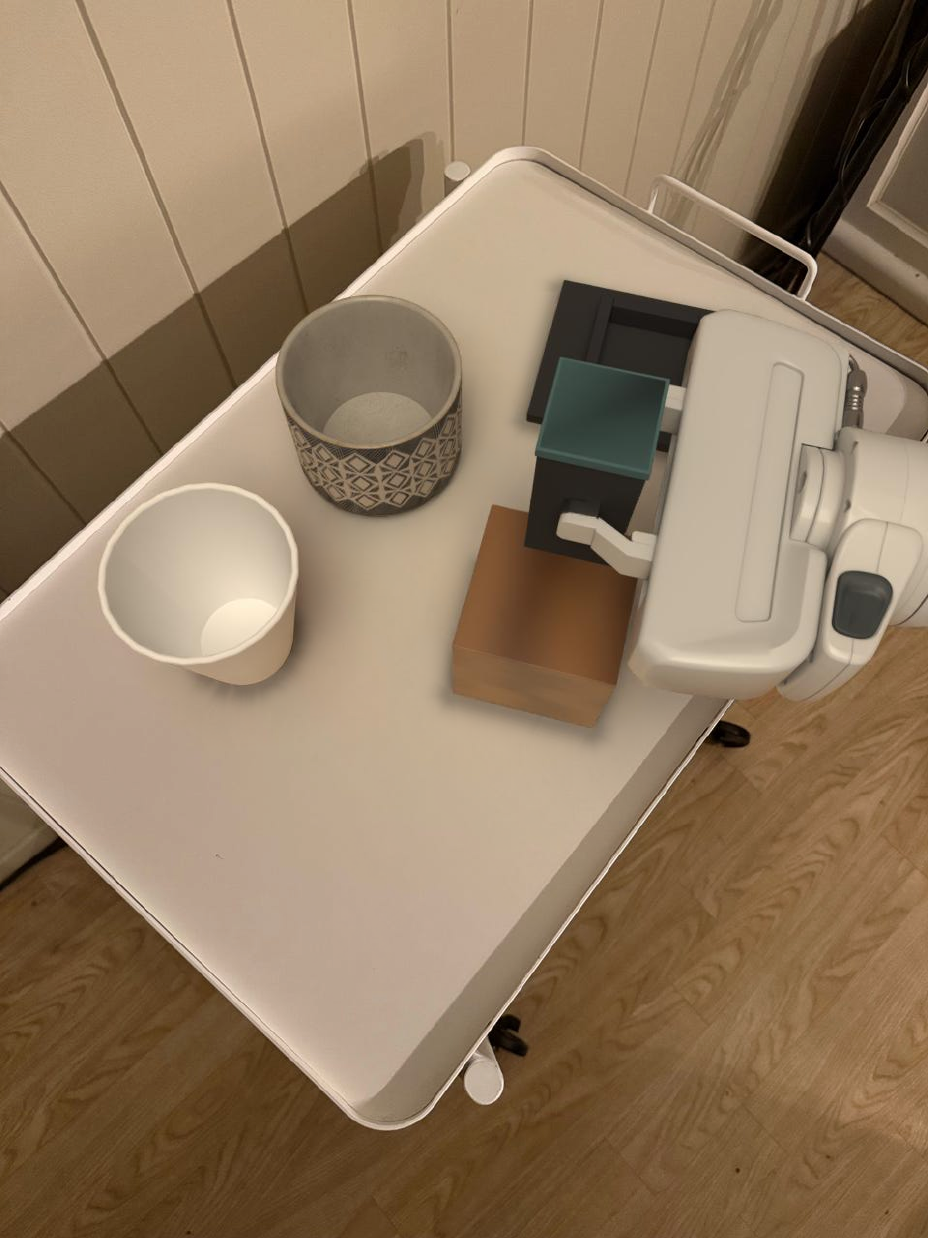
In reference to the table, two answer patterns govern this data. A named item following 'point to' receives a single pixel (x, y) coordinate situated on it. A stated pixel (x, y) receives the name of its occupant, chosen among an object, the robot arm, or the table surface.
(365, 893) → the table surface
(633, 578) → the block
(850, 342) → the table surface
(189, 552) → the cup
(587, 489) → the pad block
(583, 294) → the base pad
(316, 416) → the planter
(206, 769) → the table surface
